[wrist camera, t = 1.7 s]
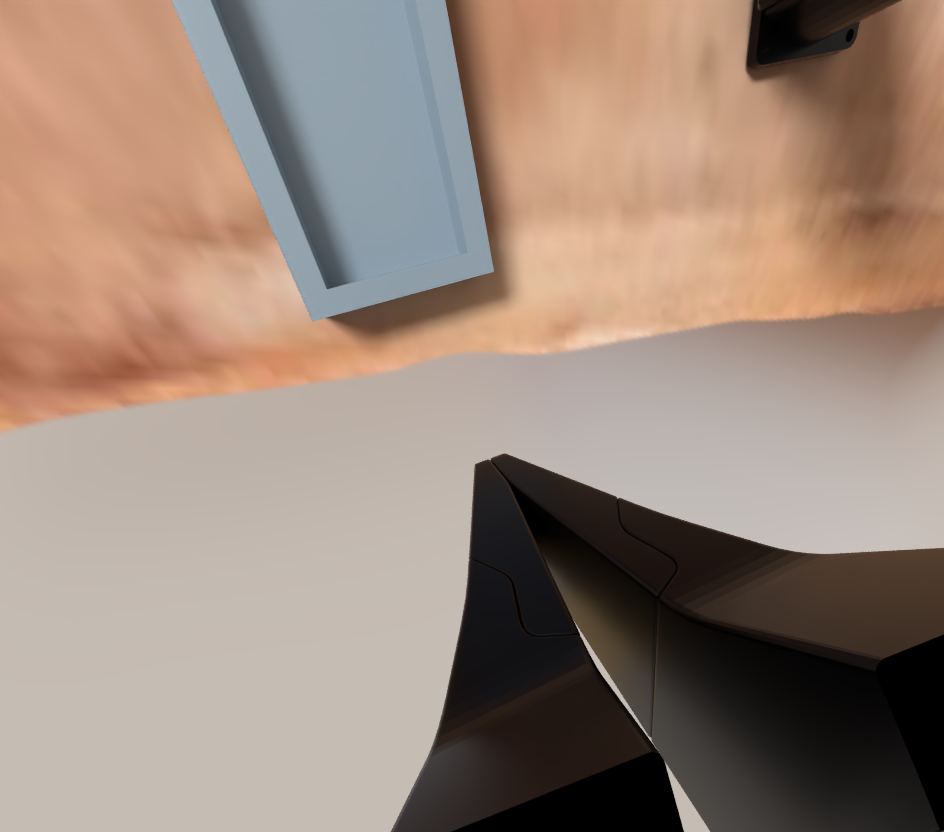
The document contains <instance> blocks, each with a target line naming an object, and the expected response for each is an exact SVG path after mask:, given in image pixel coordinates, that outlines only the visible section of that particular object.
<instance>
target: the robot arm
mask: <svg viewBox="0 0 944 832" xmlns="http://www.w3.org/2000/svg"><path fill="white" fill-rule="evenodd" d="M899 1H901V0H754V9H753V18H752V27H751V36H750V45H749V53H748V64H749V67H750V68H751V69H758V68H763V67H768V66H774V65H779V64H784V63H789V62H794V61H799V60H804V59H809V58H815V57H820V56H825V55H830V54H835V53H839V52H841V51H843V50H845V49H847V48H849V47H851V45H852V44H853V43H854V41H855V39H856V36H857V32H858V27H859V23H860V21H861V20H863V19H865V18H867V17H869V16H871V15H873V14H875V13H877V12H879V11H881V10H883V9H885V8H887V7H889V6H891V5H893V4H895V3H897V2H899ZM469 552H470V553H469V565H468V579H467V588H466V598H465V604H464V610H463V616H462V622H461V627H460V632H459V637H458V641H457V647H456V651H455V656H454V661H453V665H452V670H451V676H450V680H449V685H448V690H447V695H446V700H445V703H444V708H443V712H442V716H441V720H440V723H439V727H438V730H437V733H436V737H435V740H434V743H433V746H432V748H431V750H430V753H429V755H428V757H427V760H426V762H425V764H424V766H423V768H422V770H421V772H420V774H419V776H418V778H417V780H416V782H415V784H414V786H413V788H412V790H411V792H410V794H409V796H408V798H407V800H406V802H405V804H404V806H403V808H402V810H401V812H400V814H399V816H398V818H397V820H396V822H395V824H394V826H393V828H392V830H391V832H684V830H683V827H682V823H681V819H680V816H679V812H678V809H677V805H676V801H675V798H674V794H673V790H672V787H671V783H670V780H669V776H668V772H667V769H666V765H665V762H666V764H667V765H668V767H669V768H670V770H671V771H672V773H673V775H674V776H675V778H676V779H677V781H678V782H679V784H680V785H681V787H682V788H683V790H684V792H685V793H686V794H687V796H688V798H689V799H690V801H691V802H692V804H693V805H694V807H695V808H696V810H697V811H698V813H699V815H700V816H701V818H702V819H703V821H704V822H705V824H706V826H707V827H708V829H709V830H710V832H944V548H935V549H915V550H897V551H879V552H860V553H840V554H811V553H801V552H794V551H789V550H784V549H779V548H775V547H771V546H768V545H764V544H761V543H757V542H754V541H751V540H747V539H744V538H740V537H737V536H734V535H730V534H727V533H724V532H720V531H716V530H714V529H710V528H707V527H704V526H700V525H697V524H693V523H690V522H687V521H684V520H681V519H678V518H675V517H671V516H668V515H665V514H662V513H659V512H656V511H653V510H651V509H648V508H645V507H642V506H640V505H637V504H634V503H632V502H629V501H626V500H624V499H621V498H618V499H617V497H616V496H613V495H610V494H608V493H605V492H603V491H600V490H598V489H595V488H593V487H590V486H588V485H585V484H582V483H580V482H577V481H575V480H572V479H570V478H567V477H564V476H562V475H559V474H557V473H554V472H552V471H549V470H546V469H544V468H541V467H539V466H536V465H533V464H531V463H528V462H526V461H523V460H521V459H518V458H516V457H513V456H510V455H508V454H501V455H499V456H496V457H493V458H491V461H490V460H485V461H482V462H480V463H477V464H475V469H474V486H473V502H472V518H471V535H470V551H469ZM573 620H574V621H575V623H576V624H577V625H578V627H579V629H580V631H581V632H582V634H583V635H584V637H585V638H586V640H587V641H588V643H589V644H590V646H591V648H592V649H593V651H594V652H595V654H596V655H597V657H598V658H599V660H600V661H601V663H602V664H603V666H604V668H605V669H606V670H607V672H608V674H609V675H610V677H611V678H612V680H613V681H614V683H615V684H616V686H617V688H618V689H619V691H620V692H621V694H622V695H623V697H624V699H625V700H626V702H627V703H628V705H629V706H630V708H631V709H632V711H633V712H634V714H635V715H636V717H637V718H638V720H639V722H640V723H641V725H642V726H643V728H644V729H645V731H646V732H647V734H648V736H649V737H651V738H652V742H653V744H654V745H655V746H654V745H653V744H652V742H651V741H650V740H649V738H648V737H647V736H646V734H645V733H644V732H643V730H642V729H641V728H640V726H639V725H638V723H637V722H636V721H635V719H634V718H633V717H632V715H631V714H630V713H629V711H628V710H627V709H626V707H625V706H624V705H623V703H622V702H621V701H620V699H619V698H618V696H617V695H616V694H615V692H614V691H613V690H612V688H611V687H610V686H609V684H608V683H607V682H606V680H605V679H604V678H603V676H602V675H601V673H600V672H599V670H598V669H597V667H596V665H595V663H594V661H593V660H592V658H591V656H590V654H589V652H588V650H587V648H586V646H585V644H584V642H583V640H582V638H581V637H580V634H579V631H578V629H577V627H576V625H575V623H574V621H573ZM655 747H656V748H657V749H656V748H655ZM658 751H659V752H658ZM660 754H661V755H660Z"/></svg>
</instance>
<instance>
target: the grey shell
mask: <svg viewBox="0 0 944 832" xmlns="http://www.w3.org/2000/svg"><path fill="white" fill-rule="evenodd" d="M171 1H172V3H173V5H174V7H175V10H176V12H177V14H178V17H179V19H180V21H181V23H182V26H183V28H184V30H185V32H186V35H187V37H188V39H189V42H190V44H191V46H192V48H193V51H194V53H195V55H196V57H197V60H198V62H199V64H200V67H201V69H202V71H203V73H204V76H205V78H206V80H207V83H208V85H209V87H210V89H211V92H212V94H213V96H214V98H215V101H216V103H217V105H218V108H219V110H220V112H221V114H222V117H223V119H224V121H225V124H226V126H227V128H228V130H229V133H230V135H231V137H232V139H233V142H234V144H235V146H236V149H237V151H238V153H239V155H240V158H241V160H242V162H243V165H244V167H245V169H246V171H247V174H248V176H249V178H250V180H251V183H252V185H253V187H254V190H255V192H256V194H257V196H258V199H259V201H260V203H261V205H262V208H263V210H264V212H265V215H266V217H267V219H268V221H269V224H270V226H271V228H272V231H273V233H274V235H275V237H276V240H277V242H278V244H279V246H280V249H281V251H282V253H283V256H284V258H285V260H286V262H287V265H288V267H289V269H290V272H291V274H292V276H293V278H294V281H295V283H296V285H297V287H298V290H299V292H300V294H301V297H302V299H303V301H304V303H305V306H306V308H307V310H308V312H309V315H310V317H311V319H312V321H316V320H320V319H323V318H327V317H331V316H334V315H338V314H341V313H345V312H349V311H352V310H356V309H360V308H363V307H367V306H371V305H374V304H378V303H382V302H385V301H389V300H393V299H396V298H400V297H404V296H407V295H411V294H415V293H418V292H422V291H426V290H429V289H433V288H437V287H440V286H444V285H448V284H451V283H455V282H458V281H462V280H466V279H469V278H473V277H477V276H480V275H484V274H488V273H491V272H494V268H493V263H492V257H491V252H490V246H489V241H488V235H487V230H486V224H485V218H484V213H483V207H482V202H481V196H480V191H479V185H478V179H477V174H476V168H475V163H474V157H473V152H472V146H471V141H470V135H469V129H468V124H467V118H466V113H465V107H464V102H463V96H462V91H461V85H460V79H459V74H458V68H457V63H456V57H455V52H454V46H453V41H452V35H451V29H450V24H449V18H448V13H447V7H446V2H445V0H171Z"/></svg>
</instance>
